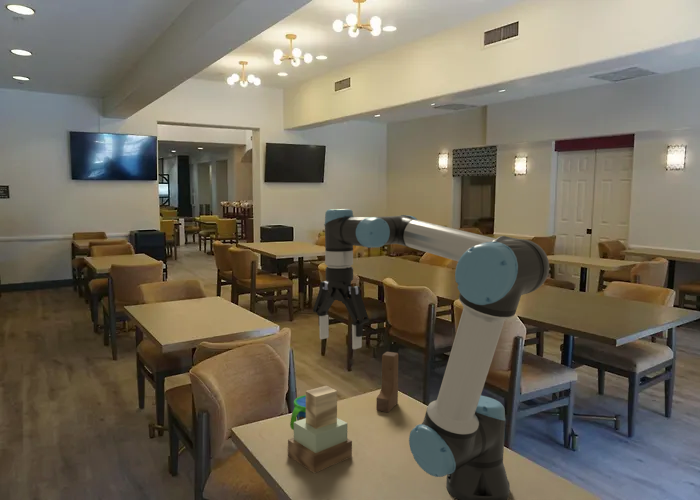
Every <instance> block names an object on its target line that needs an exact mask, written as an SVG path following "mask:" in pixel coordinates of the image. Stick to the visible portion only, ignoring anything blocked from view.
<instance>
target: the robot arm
mask: <svg viewBox="0 0 700 500" xmlns="http://www.w3.org/2000/svg"><path fill="white" fill-rule="evenodd" d="M323 225H324V226H323V227H324V242H325V243H324V245H325V246H324V248H325V251H324V252H325V253H324V254H325V255H324V256H325V257H324V260H325V261H324V263H325V264H324V265H326V267H325V280H324V281H320V283H319V290H318V293H317V296H316V300H315V303H314V306H313V308H312V311H313V313H316V315H317V316H318V327H319V339H320V340H324V339H328V338H330V334H329V330H330V329H329V324H330V323H329V322H330V321H329V313H328V312H329V310H330V309H331V306H332V305H334V304H333V303H334V302H335V301H338V302H341V303H342V304H343V305H344V306H345V308H346V310H347V311H348V313H349V315H350V317H351V319H352V321H353V324H351V329H352V330H351V335H352V336H351V337H352V340H351V341H352V342H351V343H352V345H351V347H352V350H357V349H361V348H362V346H363V343H362V342H363V339H362V338H363V335H364V324H366V323H369V322H370V318H369V316H368V311H367V309H366V306H365V302H364V300H363V298H362V295H361V294H362V293H361V287H360V286H359V285H356V286H352V281H353V280H354V267H353V265H354V246H355V247H356V246H357V247H365V248H368V249H371V248H381V247H383V246H388V245H400V246H403V247H407V248H411V249H415V250H418V251H421V252H424V253H428V254H431V255H435V256H438V257H442V258H445V259H448V260H452V261H456V262H457V264H456V266H455V272H454V273H455V274H454V275H455V276H454V279H455V283H457V289H458V291H459V296H458V301H459V302H460V304H461V305H462V307H463V308H462V312H461V315H460V319H459V323H458V327H457V329H456V333H455V336H454V340H453V344H452V346H451V350H450V354H449V357H448V361H447V363H446V368H445V370H444V374H443V378H442V380H441V385H440V388H439V391H438V395H437V399H436V400H433V401H431V402H430V403H429V404H428V405H427V408H426V411H425V414H424V418H423V421H422V423H421V424H416V425H415V426H414V427H413V428H412V430H410V433H409V438H408V443H409V449H410V452H411V454H412V457H413V458H414V460H415V462H416V464H417V465H418V466H419V468H420V469H421V470H423V471H424V472H425V473H426V474H428V475H430V476H432V477H434V478H442V477H445V476H446V481H445V482H446V483H445V484H446V489H447V492H448V493H449V495H451V496H452V497H453V498H454V499H456V500H508V499H509V497H510V490H511V489H510V488H511V487H510V486H511V485H510V481H509V479H508V476H507V471H506V468H505V464H504V453H505V451H504V448H505V430H506V425H505V424H506V422H507V421H506V420H507V419H506V411H505V410H506V409H505V407H504V405H503V404H502V402H501V401H499V400H497V399H494V398H493V397H489V396H486V395H482V392H483V390H484V387H485V383H486V380H487V377H488V375H489V371H490V367H491V365H492V361H493V358H494V355H495V352H496V349H497V346H498V342H499V339H500V336H501V334H502V330H503V327H504V324H505V321H507V320H510V319H511V318H513V317H514V316H515V315H516V312H517V310H518V306H519V303H520V300H521V297H522V296H523V295H528V294H530V293H532V292H535V291H536V290H538V289H539V288H541V287H542V286H543V284H544V283H546V280H547V278H548V275H549V273H550V260H549V257H548V255H547V253H546V252H545V250H544V249H543V248H542V247H541V246H540V245H539V244H538V243H536V242H534V241H532V240H530V239H522V238H516V237H510V236H506V235H500V236H498V237H497V238H494V237H490V236H487V235H483V234H478V233H474V232H470V231H466V230H461V229H456V228H453V227H449V226H444V225H440V224H436V223H431V222H428V221H423V220H419V219H418V218H417V217H415V216H412V215H408V214H407V215H406V214H401V215H391V216H390V215H389V216H388V215H387V216H354V212H353V210H352V209H350V208H341V209H340V208H332V209H327V210H326V211H325V217H324V224H323Z"/></svg>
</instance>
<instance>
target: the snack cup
mask: <svg viewBox="0 0 700 500" xmlns="http://www.w3.org/2000/svg"><path fill="white" fill-rule="evenodd" d="M293 406H294V408H293V410H292V414H291V416H290V423H289V425H290V428H291V430H292V431H294V422H296V421H299V420H302V419H305V418H306V394H303V395H301V396H298V397H296V398H295V399H294V400H293Z"/></svg>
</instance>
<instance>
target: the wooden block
mask: <svg viewBox="0 0 700 500" xmlns="http://www.w3.org/2000/svg"><path fill="white" fill-rule="evenodd" d="M379 391H380V392H379V394H378V395H377V397H376V408H375V409H376V411H378V412H379V411H380V412H383V413H389V412H390V411H392V410H393V409H394V408H395V406H396V405H398V401H399V398H398V397H399V353H398V352H393V351H385V352H384V353H383V354H382V355H381V387H380V390H379Z"/></svg>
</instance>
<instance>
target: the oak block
mask: <svg viewBox="0 0 700 500" xmlns="http://www.w3.org/2000/svg"><path fill="white" fill-rule="evenodd" d="M305 395H306V423H307V424H309V425H310V426H312V427H313V428H315V429H318V428H321V427H324V426H327V425H330V424H333V423H337V418H338V390H336V389H335V388H332V387H330V386H329V385H323V386H319V387H316V388H312V389H308V390H305Z"/></svg>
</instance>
